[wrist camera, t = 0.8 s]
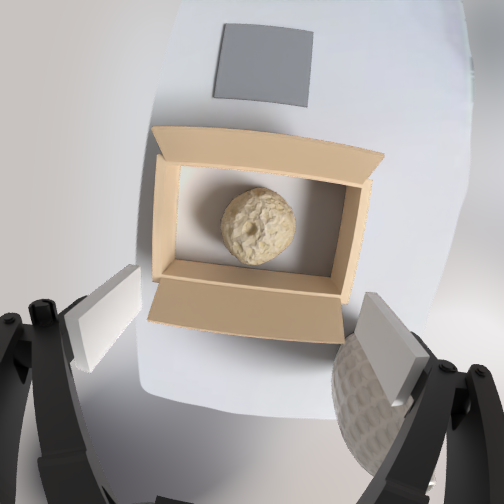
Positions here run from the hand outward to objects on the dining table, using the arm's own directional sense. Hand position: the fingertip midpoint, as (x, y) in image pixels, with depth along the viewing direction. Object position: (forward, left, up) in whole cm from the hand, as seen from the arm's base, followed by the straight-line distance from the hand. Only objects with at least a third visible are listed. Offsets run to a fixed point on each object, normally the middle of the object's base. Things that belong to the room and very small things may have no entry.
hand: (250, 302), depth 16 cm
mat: (-22, -1, -23) cm, 32 cm away
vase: (+18, +19, -23) cm, 34 cm away
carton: (0, 0, -23) cm, 23 cm away
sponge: (0, 0, -23) cm, 23 cm away
